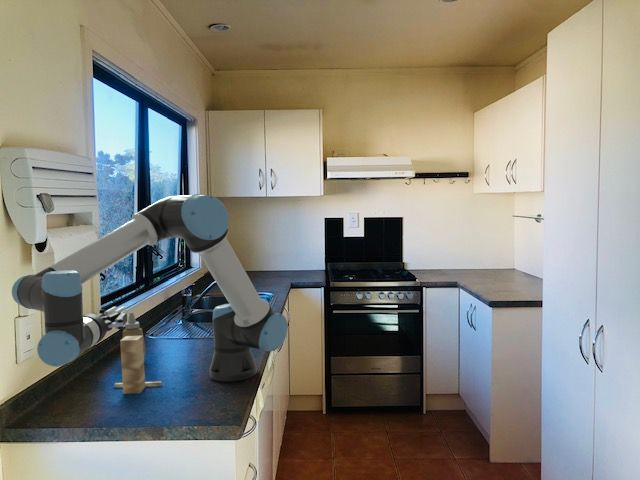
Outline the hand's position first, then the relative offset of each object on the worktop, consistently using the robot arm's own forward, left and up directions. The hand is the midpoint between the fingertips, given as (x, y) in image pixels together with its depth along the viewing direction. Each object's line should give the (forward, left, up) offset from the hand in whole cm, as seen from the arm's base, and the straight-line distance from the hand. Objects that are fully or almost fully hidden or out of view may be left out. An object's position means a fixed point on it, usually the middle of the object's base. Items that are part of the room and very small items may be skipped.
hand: (119, 311), depth 145 cm
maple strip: (0, -12, -26) cm, 29 cm away
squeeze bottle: (+9, -36, -26) cm, 46 cm away
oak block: (0, -8, -26) cm, 27 cm away
